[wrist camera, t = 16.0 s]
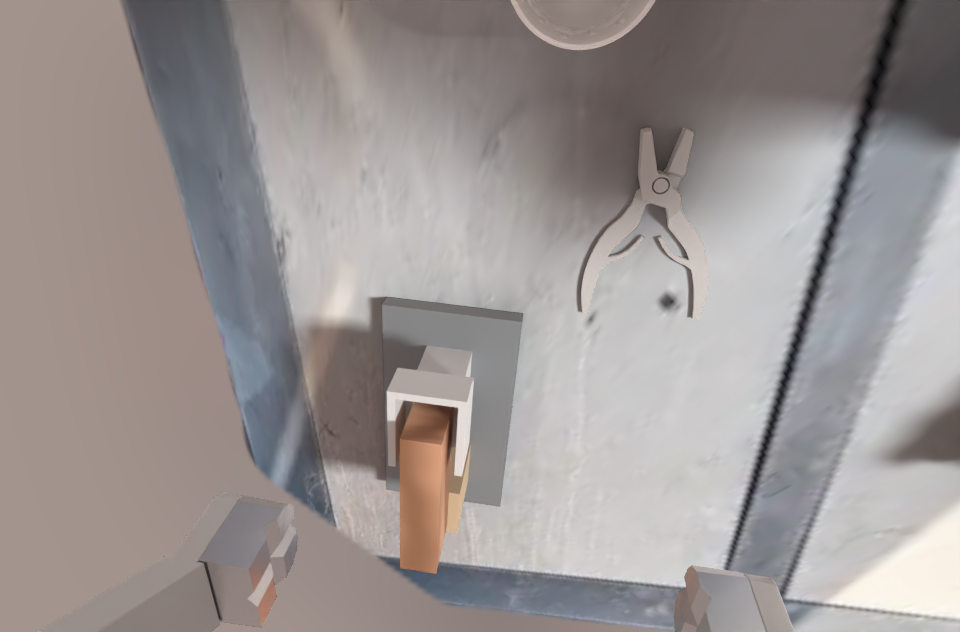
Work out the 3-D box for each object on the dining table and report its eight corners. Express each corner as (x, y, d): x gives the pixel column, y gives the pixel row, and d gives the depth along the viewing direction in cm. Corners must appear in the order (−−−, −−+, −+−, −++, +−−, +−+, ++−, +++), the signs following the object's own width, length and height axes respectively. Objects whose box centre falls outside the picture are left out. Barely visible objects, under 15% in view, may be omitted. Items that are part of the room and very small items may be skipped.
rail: (454, 400, 43) (441, 445, 38) (447, 524, 50) (435, 573, 45) (416, 395, 43) (399, 438, 39) (414, 519, 50) (400, 567, 45)
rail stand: (523, 313, 47) (513, 389, 38) (501, 495, 58) (489, 590, 49) (386, 296, 48) (343, 367, 39) (390, 478, 59) (356, 568, 50)
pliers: (579, 318, 45) (595, 129, 38) (579, 309, 47) (594, 125, 40) (704, 324, 44) (744, 131, 37) (699, 315, 46) (738, 126, 38)
